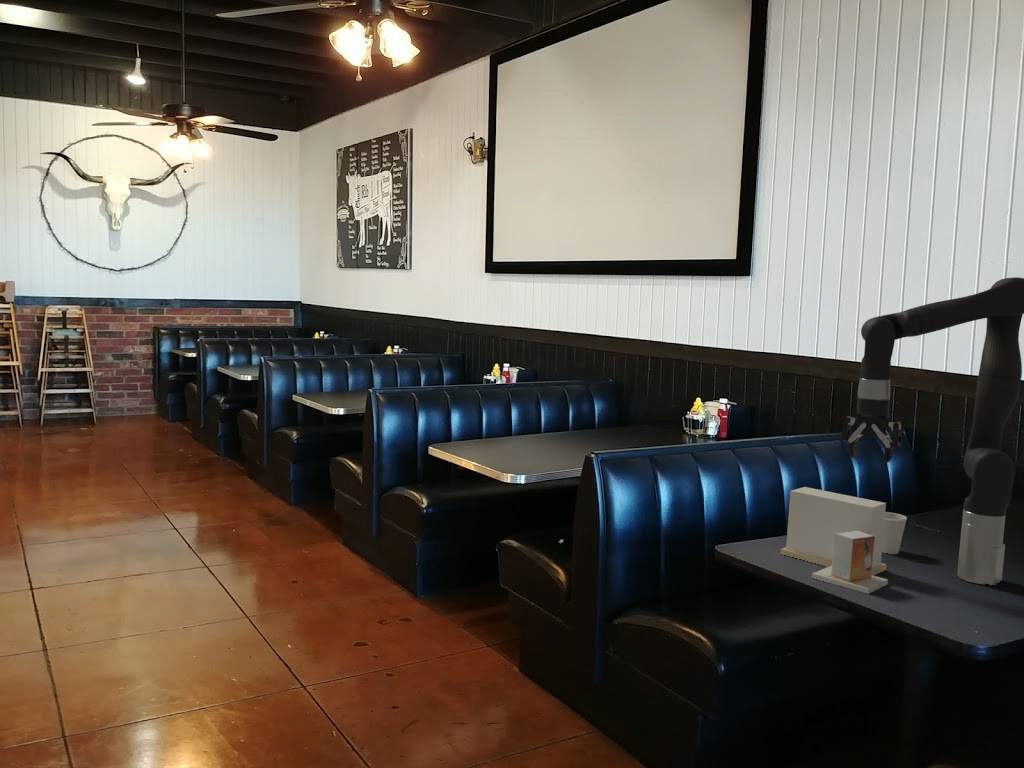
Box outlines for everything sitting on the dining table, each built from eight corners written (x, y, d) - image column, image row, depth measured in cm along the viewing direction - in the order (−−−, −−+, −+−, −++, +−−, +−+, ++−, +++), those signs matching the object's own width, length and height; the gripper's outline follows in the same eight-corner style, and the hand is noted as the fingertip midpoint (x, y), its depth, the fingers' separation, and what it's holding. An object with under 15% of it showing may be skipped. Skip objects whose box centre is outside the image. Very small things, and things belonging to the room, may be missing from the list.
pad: (887, 584, 209) (888, 579, 209) (868, 593, 201) (868, 588, 201) (832, 569, 219) (832, 564, 219) (811, 578, 211) (812, 573, 211)
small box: (849, 582, 205) (852, 539, 204) (830, 574, 210) (833, 532, 209) (871, 577, 209) (875, 535, 208) (853, 570, 214) (856, 529, 213)
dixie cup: (897, 547, 241) (901, 512, 240) (908, 556, 233) (911, 520, 232) (867, 545, 242) (870, 511, 241) (876, 554, 234) (879, 518, 233)
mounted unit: (885, 570, 220) (891, 503, 218) (868, 578, 213) (874, 509, 211) (798, 547, 237) (803, 485, 235) (780, 554, 230) (785, 490, 228)
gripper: (908, 398, 215) (904, 462, 217) (852, 393, 225) (848, 454, 226) (896, 400, 210) (892, 465, 211) (839, 394, 219) (836, 457, 221)
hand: (869, 459), depth 219 cm, fingers open, 8 cm apart
